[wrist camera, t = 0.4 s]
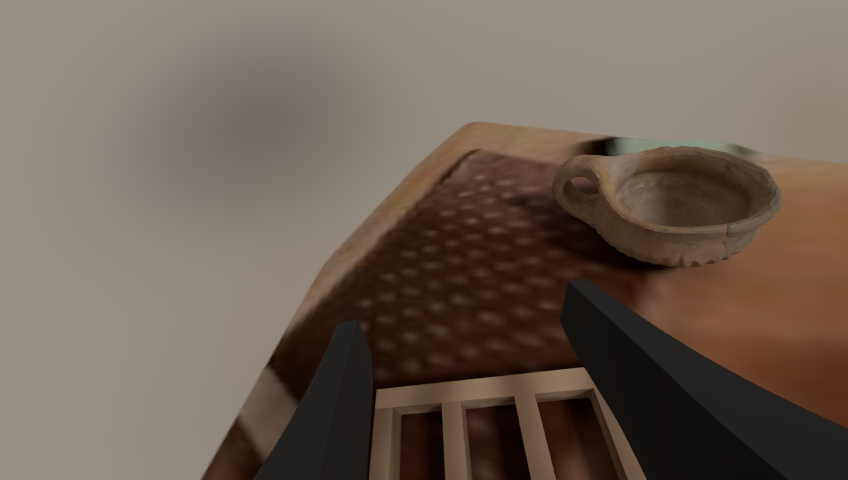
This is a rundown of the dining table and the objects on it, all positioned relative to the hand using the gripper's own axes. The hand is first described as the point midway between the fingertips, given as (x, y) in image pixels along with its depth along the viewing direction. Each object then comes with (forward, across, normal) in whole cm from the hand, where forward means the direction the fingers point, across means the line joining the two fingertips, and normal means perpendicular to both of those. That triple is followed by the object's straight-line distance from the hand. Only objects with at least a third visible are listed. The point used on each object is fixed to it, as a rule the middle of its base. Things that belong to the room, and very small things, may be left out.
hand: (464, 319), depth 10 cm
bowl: (+19, -23, +14) cm, 33 cm away
